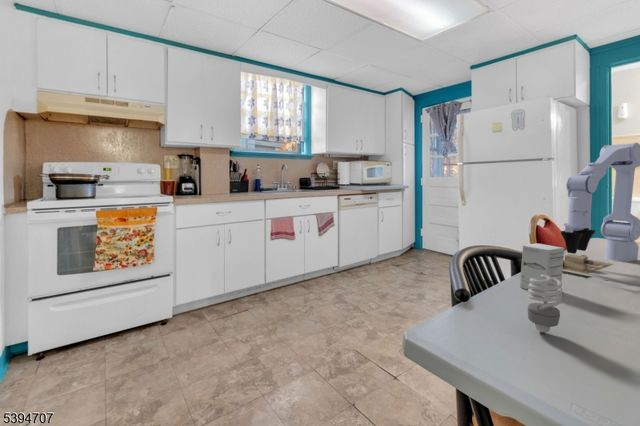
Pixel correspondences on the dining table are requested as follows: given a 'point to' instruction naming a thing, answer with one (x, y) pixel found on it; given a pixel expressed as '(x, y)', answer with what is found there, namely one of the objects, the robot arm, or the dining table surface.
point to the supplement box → (541, 263)
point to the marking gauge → (577, 262)
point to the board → (589, 269)
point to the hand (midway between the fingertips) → (576, 251)
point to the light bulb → (544, 312)
